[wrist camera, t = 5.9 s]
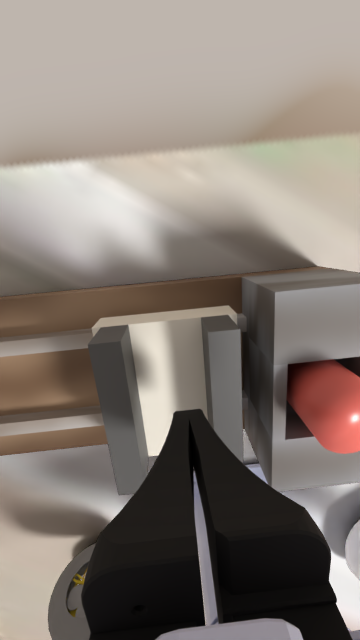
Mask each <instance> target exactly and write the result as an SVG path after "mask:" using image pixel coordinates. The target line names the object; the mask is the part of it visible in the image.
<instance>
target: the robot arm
mask: <svg viewBox="0 0 360 640" xmlns="http://www.w3.org/2000/svg"><path fill="white" fill-rule="evenodd" d="M193 466H194V471H193ZM198 552H199V555H198ZM199 562H200V565H199ZM330 563H331V550H330V548H329V546H328V544H327V542H326V540H325V538H324V536H323V534H322V532H321V531H320V529H319V528H318V526H317V525H316V523H315V522H314V520H313V519H312V517H311V516H310V515H309V513H308V512H307V510H306V509H305V508H304V507H302V506H301V505H299V504H297V503H296V502H294V501H292V500H291V499H289V498H287V497H286V496H284V495H282V494H281V493H279V492H278V491H276V490H275V489H274V488H272V487H271V486H269V485H268V483H267V481H266V478H265V476H264V474H263V471H262V469H261V467H260V464H250V465H244V464H243V463H242V462H241V461H240V460H239V459H238V458H237V457H236V456H235V455H234V454H233V453H232V452H231V451H230V449H229V448H228V447H227V446H226V445H225V444H224V442H223V441H222V440H221V439H220V437H219V436H218V435H217V433H216V432H215V431H214V429H213V428H212V426H211V425H210V423H209V422H208V420H207V418H206V417H205V415H204V413H203V411H202V410H201V409H192V410H183V411H175V412H174V413H173V419H172V423H171V426H170V429H169V432H168V435H167V437H166V440H165V442H164V445H163V447H162V449H161V451H160V453H159V455H158V458H157V459H156V461H155V463H154V465H153V467H152V468H151V470H150V472H149V473H148V475H147V477H146V478H145V480H144V481H143V483H142V484H141V486H140V487H139V489H138V490H137V491H136V493H135V494H134V495H133V496H132V498H131V499H130V500H129V501H128V503H127V504H126V505H125V506H124V508H123V509H122V510H121V511H120V512H119V514H118V515H117V516H116V517H115V518H114V519H113V520H112V521H111V522H110V523H109V524H108V525H107V526H106V527H105V528H104V530H103V531H102V532H101V533H100V535H99V537H98V540H97V542H96V544H95V547H94V550H93V552H92V555H91V558H90V561H89V564H88V568H87V571H86V576H85V580H84V584H83V588H82V593H81V601H82V606H83V609H84V613H85V616H86V619H87V623H88V626H89V629H90V638H89V640H360V630H357V631H351V630H350V629H348V628H347V627H346V624H345V622H344V620H343V618H342V616H341V614H340V612H339V610H338V607H337V605H336V602H337V599H336V595H335V593H334V591H333V589H332V587H331V585H330V583H329V572H330ZM200 571H201V575H200ZM201 581H202V585H201ZM202 590H203V595H202ZM203 600H204V605H203ZM204 609H205V616H204ZM205 619H206V626H205Z"/></svg>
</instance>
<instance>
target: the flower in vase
mask: <svg viewBox="0 0 360 640" xmlns="http://www.w3.org/2000/svg"><path fill="white" fill-rule="evenodd" d="M345 553H346V562H347V565H348V567H349V569H350V570H351V572H352V573H353V574H354V575H355V576H356V577H357V578H358V579H359V580H360V520H359V521H358V522H357V523H356V524H355V525H354V526H353V528H352V529H351V531H350V533H349V535H348V537H347V540H346V545H345Z"/></svg>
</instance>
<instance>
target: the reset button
mask: <svg viewBox="0 0 360 640" xmlns="http://www.w3.org/2000/svg"><path fill="white" fill-rule="evenodd" d="M286 400H287V401H288V402H289V404H290V405H291V406H292V408H293V409H294V410H295V412H296V413H297V414H298V416H299V417H300V418H301V419H302V421H303V422H304V423H305V425H306V426H307V427H308V429H309V430H310V431H311V433H312V434H313V435H314V436H315V438H316V439H317V440H318V442H319V443H320V444H321V445H322V446H323V447H324V448H326V449H327V450H329V451H331V452H335V453H341V454H347V453H354V452H358V451H360V377H358V376H357V375H355V374H354V373H353V372H351V371H350V370H348V369H347V368H345V367H344V366H343V365H341V364H340V363H338V362H337V361H335V360H334V359H331V360H321V361H312V362H302V363H293V364H288V370H287V399H286Z"/></svg>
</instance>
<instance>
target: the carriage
mask: <svg viewBox="0 0 360 640" xmlns="http://www.w3.org/2000/svg"><path fill="white" fill-rule="evenodd" d="M92 333H93V338H92V339H91V341H90V342H89V343H88V349H89V354H90V359H91V364H92V369H93V374H94V378H95V383H96V388H97V393H98V398H99V403H100V407H101V412H102V417H103V422H104V427H105V432H106V436H107V441H108V446H109V451H110V456H111V461H112V465H113V470H114V475H115V480H116V485H117V490H118V494H119V495H125V494H134V493H136V491H137V490H138V489H139V487H140V486H141V484H142V483H143V481H144V480H145V478H146V477H147V470H148V458H149V456H158V455H159V453H160V451H161V449H162V447H163V445H164V442H165V440H166V437H167V435H168V432H169V429H170V426H171V423H172V419H173V413H174V412H175V411H183V410H192V409H201V410H202V411H203V413H204V415H205V417H206V418H207V420H208V422H209V423H210V425H211V426H212V428H213V429H214V431H215V432H216V433H217V435H218V436H219V437H220V439H221V440H222V441H223V442H224V444H225V445H226V446H227V447H228V448H229V449H230V451H231V452H232V453H233V454H234V455H235V456H236V457H237V458H238V459H239V460H240V461H241V462H242V463H243V422H242V378H241V333H240V328H239V327H238V326H237V313H236V312H235V311H234V310H233V309H232V308H231V307H230V306H229V305H227V306H217V307H207V308H197V309H187V310H177V311H167V312H157V313H147V314H137V315H127V316H116V317H106V318H100V319H99V320H98V322H97V323H96V324H95V325H94V326H93V327H92Z"/></svg>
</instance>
